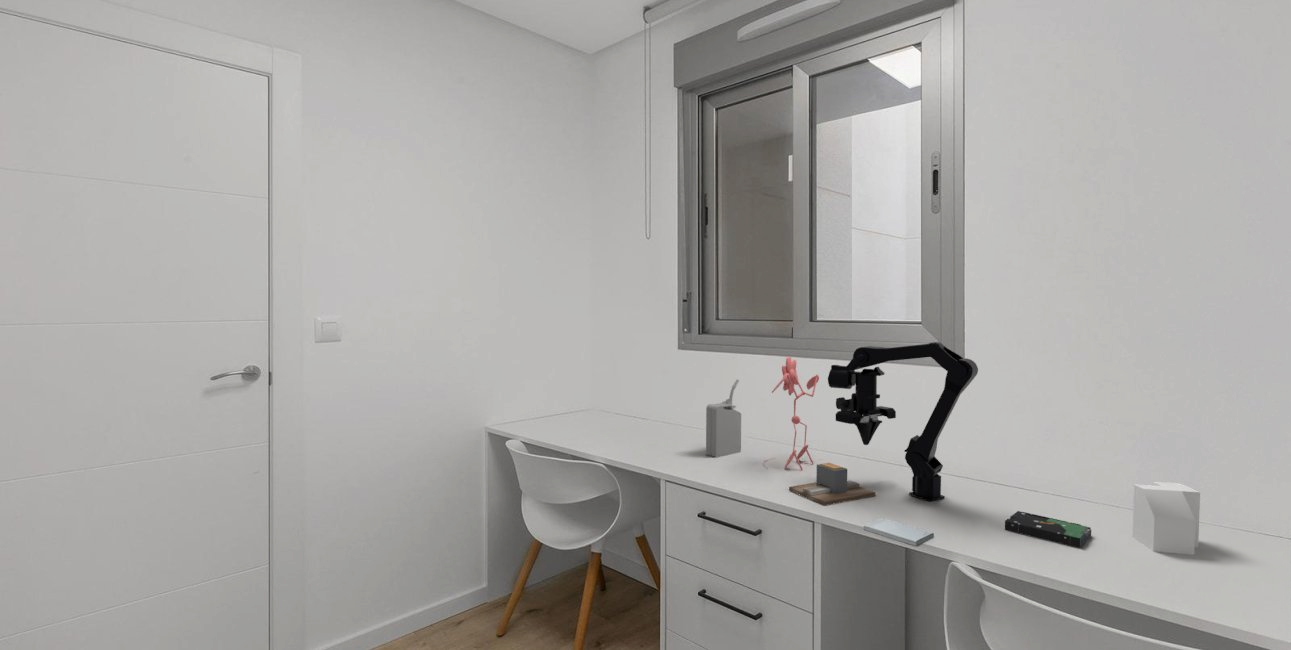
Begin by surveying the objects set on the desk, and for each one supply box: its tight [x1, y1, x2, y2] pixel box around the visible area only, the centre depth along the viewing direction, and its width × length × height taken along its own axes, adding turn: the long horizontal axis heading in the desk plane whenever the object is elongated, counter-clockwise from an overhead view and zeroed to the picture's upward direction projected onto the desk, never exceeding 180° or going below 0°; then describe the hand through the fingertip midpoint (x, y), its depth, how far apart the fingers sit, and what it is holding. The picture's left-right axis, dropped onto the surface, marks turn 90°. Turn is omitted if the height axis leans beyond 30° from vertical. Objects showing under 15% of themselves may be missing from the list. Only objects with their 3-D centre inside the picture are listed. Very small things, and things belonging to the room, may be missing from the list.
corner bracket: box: [1131, 481, 1201, 555], centre depth 133 cm, size 11×11×12 cm
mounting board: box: [788, 479, 877, 506], centre depth 168 cm, size 14×18×2 cm
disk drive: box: [1004, 510, 1092, 549], centre depth 139 cm, size 10×3×15 cm
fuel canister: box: [705, 379, 742, 458], centre depth 212 cm, size 15×5×25 cm, turn 130°
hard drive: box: [863, 517, 935, 547], centre depth 139 cm, size 2×8×12 cm
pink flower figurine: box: [762, 356, 823, 471], centre depth 198 cm, size 15×26×35 cm, turn 143°
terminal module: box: [815, 462, 848, 494], centre depth 168 cm, size 7×4×7 cm, turn 26°
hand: (865, 444), depth 175 cm, fingers closed
